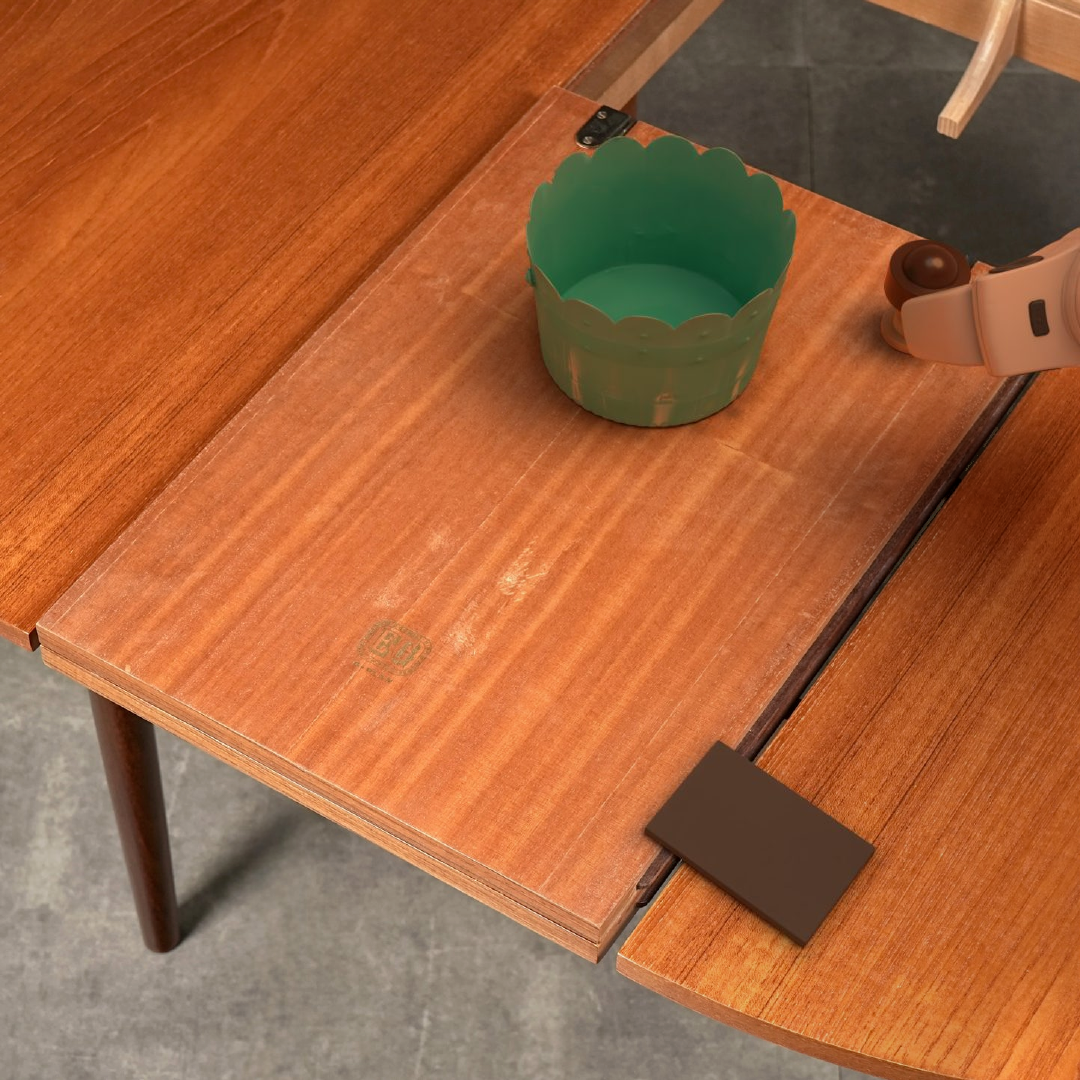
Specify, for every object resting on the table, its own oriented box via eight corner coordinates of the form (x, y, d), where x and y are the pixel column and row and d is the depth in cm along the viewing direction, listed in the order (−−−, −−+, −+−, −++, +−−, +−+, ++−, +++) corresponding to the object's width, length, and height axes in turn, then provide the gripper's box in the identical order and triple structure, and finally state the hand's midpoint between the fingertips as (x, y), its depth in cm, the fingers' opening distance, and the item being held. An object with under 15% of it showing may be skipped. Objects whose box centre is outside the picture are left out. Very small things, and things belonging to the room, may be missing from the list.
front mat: (874, 852, 106) (876, 847, 105) (803, 948, 102) (805, 943, 102) (716, 744, 110) (718, 738, 109) (643, 832, 106) (644, 827, 106)
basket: (523, 435, 124) (525, 315, 114) (522, 254, 135) (525, 129, 124) (783, 437, 125) (810, 318, 114) (762, 257, 135) (785, 133, 125)
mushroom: (964, 327, 131) (991, 249, 124) (924, 373, 129) (949, 295, 122) (898, 290, 133) (921, 211, 126) (857, 334, 131) (878, 256, 124)
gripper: (1248, 205, 106) (1119, 212, 119) (958, 283, 102) (857, 282, 115) (1262, 304, 107) (1133, 300, 121) (976, 385, 103) (875, 372, 116)
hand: (996, 292), depth 118 cm, fingers open, 8 cm apart
